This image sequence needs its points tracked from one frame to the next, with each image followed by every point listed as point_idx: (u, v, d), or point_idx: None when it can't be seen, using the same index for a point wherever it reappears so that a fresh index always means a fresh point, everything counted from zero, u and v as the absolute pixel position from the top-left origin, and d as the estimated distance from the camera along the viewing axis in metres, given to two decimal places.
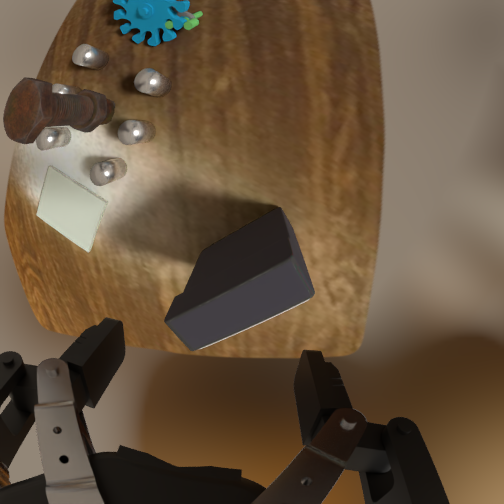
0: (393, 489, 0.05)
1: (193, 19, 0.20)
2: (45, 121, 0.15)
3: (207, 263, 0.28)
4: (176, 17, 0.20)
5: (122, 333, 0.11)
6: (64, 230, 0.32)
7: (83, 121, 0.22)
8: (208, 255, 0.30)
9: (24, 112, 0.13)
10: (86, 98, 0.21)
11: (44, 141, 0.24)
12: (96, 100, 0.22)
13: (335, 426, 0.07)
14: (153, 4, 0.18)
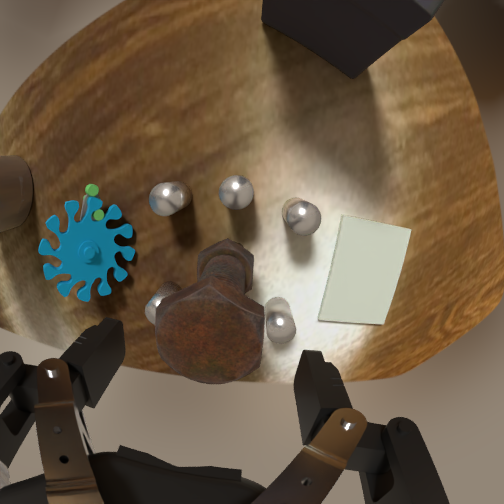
0: (393, 489, 0.05)
1: (86, 190, 0.22)
2: (219, 283, 0.13)
3: (354, 46, 0.16)
4: (87, 210, 0.22)
5: (122, 333, 0.11)
6: (393, 273, 0.27)
7: (236, 262, 0.20)
8: (348, 57, 0.19)
9: (209, 333, 0.12)
10: (204, 269, 0.20)
11: (283, 328, 0.24)
12: (206, 256, 0.21)
13: (335, 426, 0.07)
14: (77, 243, 0.21)
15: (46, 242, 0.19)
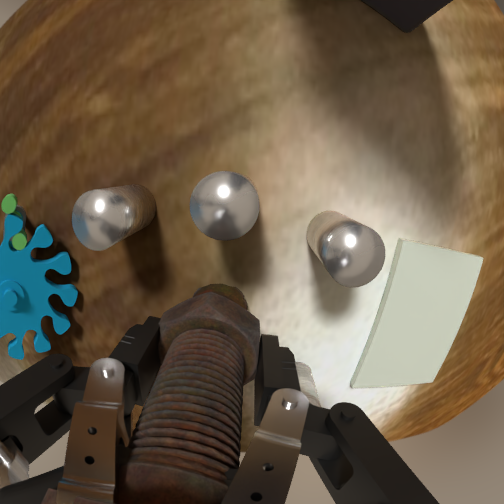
0: (354, 475, 0.05)
1: None
2: None
3: None
4: (4, 235, 0.11)
5: None
6: (456, 319, 0.16)
7: (226, 347, 0.10)
8: None
9: None
10: (166, 357, 0.10)
11: None
12: (170, 328, 0.11)
13: (278, 408, 0.07)
14: None
15: None
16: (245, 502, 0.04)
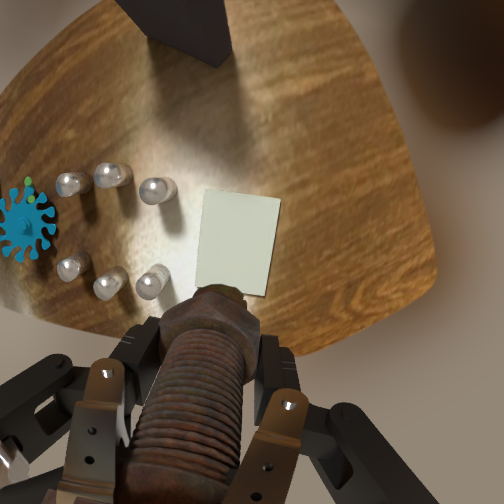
0: (354, 475, 0.05)
1: (24, 181, 0.25)
2: None
3: (193, 42, 0.20)
4: (24, 196, 0.25)
5: None
6: (266, 243, 0.30)
7: (227, 347, 0.10)
8: (199, 51, 0.22)
9: None
10: (166, 357, 0.10)
11: (147, 285, 0.27)
12: (170, 328, 0.11)
13: (278, 408, 0.07)
14: (16, 219, 0.25)
15: None
16: (245, 502, 0.04)
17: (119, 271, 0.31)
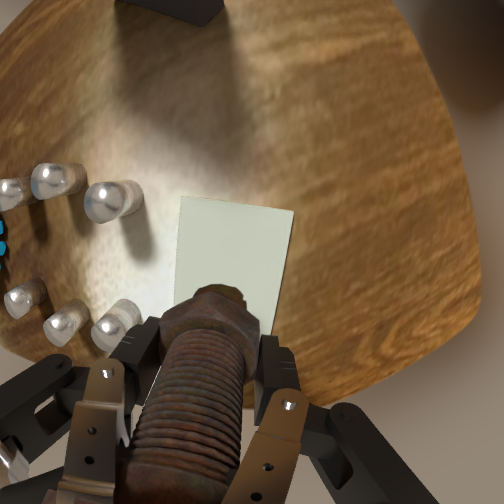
0: (354, 475, 0.05)
1: None
2: None
3: None
4: None
5: None
6: (271, 276, 0.21)
7: (227, 347, 0.10)
8: (176, 2, 0.13)
9: None
10: (166, 357, 0.10)
11: (105, 335, 0.18)
12: (170, 328, 0.11)
13: (278, 408, 0.07)
14: None
15: None
16: (245, 502, 0.04)
17: (76, 306, 0.21)
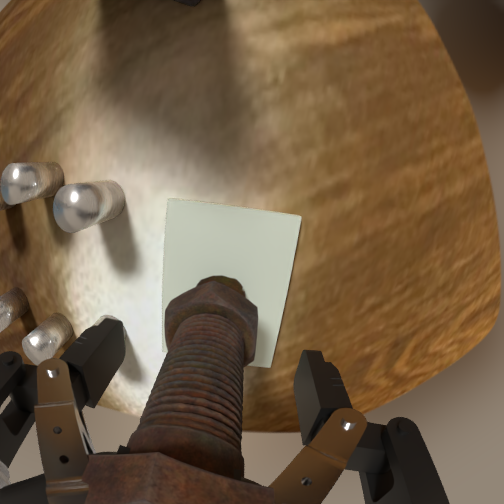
0: (393, 489, 0.05)
1: None
2: (174, 481, 0.03)
3: None
4: None
5: (122, 333, 0.11)
6: (274, 292, 0.18)
7: (228, 329, 0.11)
8: None
9: None
10: (173, 339, 0.11)
11: None
12: (176, 314, 0.12)
13: (335, 426, 0.07)
14: None
15: None
16: None
17: (57, 322, 0.18)
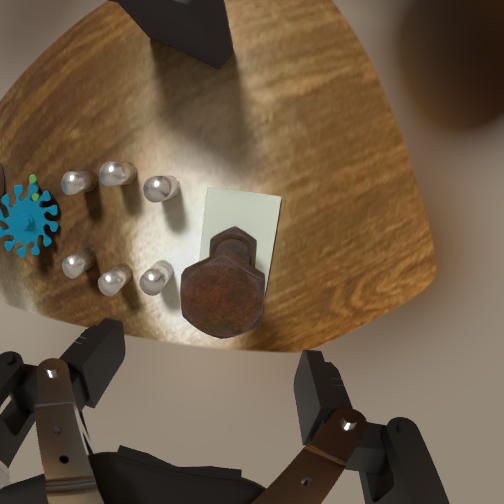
0: (393, 489, 0.05)
1: None
2: (230, 255, 0.17)
3: (195, 44, 0.21)
4: (28, 193, 0.26)
5: (122, 333, 0.11)
6: (267, 240, 0.31)
7: (242, 245, 0.25)
8: (201, 53, 0.23)
9: (223, 292, 0.16)
10: None
11: (151, 281, 0.28)
12: (216, 240, 0.25)
13: (335, 426, 0.07)
14: (19, 215, 0.26)
15: (0, 211, 0.24)
16: None
17: (123, 267, 0.31)
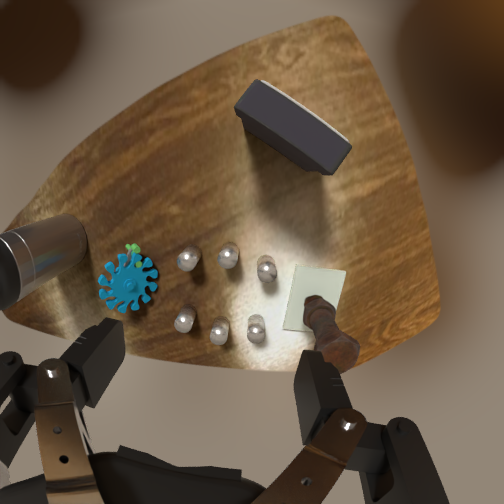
0: (393, 489, 0.05)
1: (131, 248, 0.38)
2: (343, 333, 0.29)
3: (301, 162, 0.33)
4: (131, 261, 0.38)
5: (122, 333, 0.11)
6: (334, 300, 0.43)
7: (329, 313, 0.37)
8: (300, 163, 0.35)
9: (339, 353, 0.28)
10: (312, 317, 0.36)
11: (257, 334, 0.40)
12: (311, 309, 0.37)
13: (335, 426, 0.07)
14: (123, 280, 0.38)
15: (104, 278, 0.35)
16: None
17: (225, 320, 0.43)
